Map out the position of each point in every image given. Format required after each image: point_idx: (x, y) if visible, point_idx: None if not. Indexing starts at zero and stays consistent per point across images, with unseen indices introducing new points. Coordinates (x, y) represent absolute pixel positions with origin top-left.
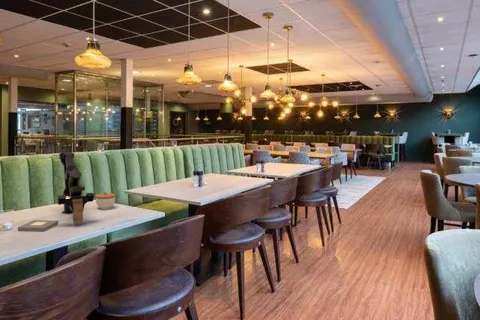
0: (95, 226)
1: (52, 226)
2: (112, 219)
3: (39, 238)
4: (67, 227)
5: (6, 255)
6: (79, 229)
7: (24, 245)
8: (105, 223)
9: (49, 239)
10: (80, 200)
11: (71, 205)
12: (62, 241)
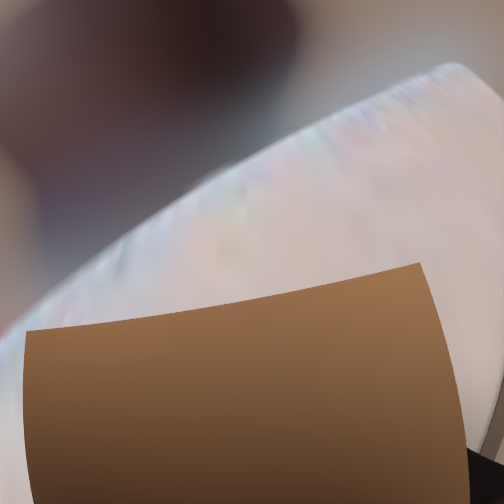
0: None
1: (499, 408)
2: None
3: (479, 171)
4: None
5: (469, 71)
6: (280, 289)
7: (480, 115)
8: None
9: (424, 143)
10: (97, 333)
11: None
12: (349, 108)
